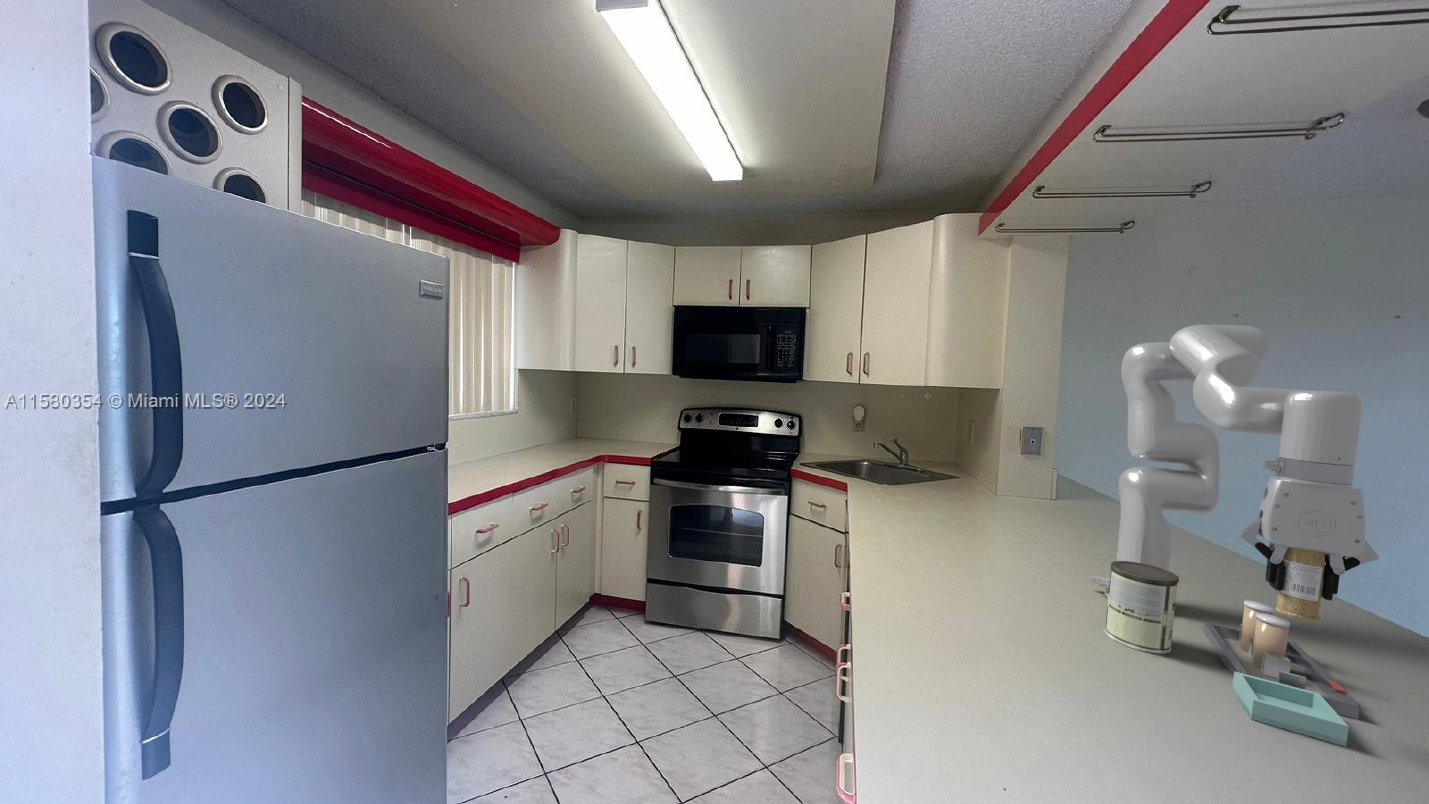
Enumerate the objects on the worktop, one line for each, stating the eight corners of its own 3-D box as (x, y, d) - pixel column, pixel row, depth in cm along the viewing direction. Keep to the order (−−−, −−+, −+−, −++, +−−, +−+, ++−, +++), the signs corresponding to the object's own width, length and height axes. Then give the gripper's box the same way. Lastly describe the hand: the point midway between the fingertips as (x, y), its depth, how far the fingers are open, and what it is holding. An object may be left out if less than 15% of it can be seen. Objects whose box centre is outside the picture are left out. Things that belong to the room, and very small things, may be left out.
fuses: (1255, 667, 94) (1260, 619, 93) (1236, 642, 103) (1241, 598, 103) (1288, 676, 92) (1294, 626, 91) (1265, 649, 101) (1271, 604, 101)
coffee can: (1098, 622, 109) (1104, 556, 108) (1160, 635, 104) (1167, 567, 104) (1111, 645, 99) (1118, 572, 99) (1180, 660, 95) (1188, 584, 94)
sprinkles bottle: (1321, 619, 78) (1332, 531, 78) (1316, 625, 76) (1327, 535, 75) (1277, 607, 82) (1287, 523, 82) (1270, 612, 80) (1281, 526, 79)
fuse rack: (1239, 687, 87) (1241, 667, 87) (1202, 631, 108) (1204, 614, 108) (1357, 719, 80) (1360, 697, 80) (1294, 652, 101) (1296, 634, 100)
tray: (1251, 719, 78) (1253, 700, 78) (1232, 688, 87) (1234, 671, 86) (1346, 747, 73) (1348, 726, 73) (1316, 711, 81) (1318, 693, 81)
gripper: (1243, 468, 79) (1230, 585, 80) (1417, 486, 70) (1399, 618, 71) (1229, 462, 86) (1216, 571, 87) (1386, 478, 77) (1370, 600, 77)
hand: (1299, 591), depth 79 cm, fingers closed on sprinkles bottle, 4 cm apart
